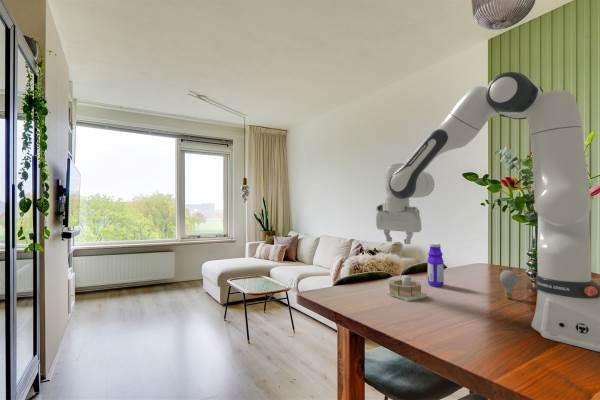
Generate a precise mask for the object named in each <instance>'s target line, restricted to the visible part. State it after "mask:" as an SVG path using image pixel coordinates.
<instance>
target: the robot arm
mask: <svg viewBox="0 0 600 400" xmlns="http://www.w3.org/2000/svg"><path fill="white" fill-rule="evenodd" d="M576 100H577V99H576V98H575V95H574V94H573V93H571V91H567V90H563V89H557V90H556V89H555V90H550V91H544V90H543V89H542V88H541V87H540V86H539V85H538V84H537V82H535V80H533V79H531V78H530V77H528V76H527V75H524V74H523V73H521V72H516V71H507V72H502V73H500V74H498V75H496V76H495V77H494V78H493V79H491V80H490V82H489V83H488V84H487V87H486V86H482V85H481V86H474V87H471V88H470V89H469V90H468V91H466V93H464V94H463V96H462V97H461V98H460V99H458V101H457V102H456V104H455V105H454V106H453V107H452V109H451V110H450V111H449V112H448V114H447V115H446V116H445V118H444V119H443V121H442V122H441V123H440V124H439V125H438V126H437V127H436V129H435V130H433V131H432V132H431V133H430V134H429V135H428V136H427V137H426V138H425V139H424V141H423V142H422V143H421V144H420V145H419V146H418V148H417V149H416V150H415V151H414V153H412V155H411V156H410V157H409V158H408V159H407V160H406V161H405V163H396V164H392V165H389V166H387V168H386V170H385V174H384V175H385V176H384V189H385V198H384V199H385V201H384V202H382V203H381V204H378V205H377V206H376V207H375V208H376V209H375V211H376V215H375V227H376V228H377V230H379V231H381V230H382V231H383V233H384V236H385V242H387V243H388V242H389V243H392V242H393V237H392V236H391V234H390V233H391V231H393V232H405V235H406V238H404V240H403V241H404V243H403V244H405V245H411V243H412V241H411V239H412V238H413V236H414V233H420V232H421V231H422V219H421V215H420V214H421V213H420V209H418V208H417V207H416V206H410V198H411V199H412V198H414V199H415V198H425V197H427V196H430V195H431V194H432V192H433V191H434V188H435V180H434V177H433V176H432V175H431V174H430V173H429V172H426V170H427V168H428V167H429V166H430V164H431V163H432V162H433V161H434V160H435V159H436V158H437V157H439V156H440V155H442V154H444V153H446V152H448V151H453V150H457V149H460V148H463V147H466V146H467V145H468V144H469V143H470V142H472V141H473V139H475V138H476V137H477V135H478V134H479V133H480V131H481V130H482V129H483V128H484V126H485V125H486V124H487V122H488V121H489V120H490V119H492V118H493V117H494V116H498V115H499V116H500V117H504V118H507V119H513V120H527V122H528V125H529V126H528V127H529V140H530V149H531V157H532V158H531V160H532V176H533V177H532V179H533V181H532V182H533V196H534V197H533V199H534V208H535V211H536V214H537V241H536V242H537V243H536V245H537V246H536V250H537V251H536V253H537V254H536V256H537V274H536V275H535V293H536V295H537V296H536V304H535V310H534V316H533V319H532V321H531V323H530V324H531V325H530V326H531V328H532V329H534V330H535V331H537V332H538V333H540V335H541V336H542V337H543V338H544V339H548V340H550V341H555V342H559V343H563V344H567V345H570V346H575V347H579V348H582V349H586V350H587V349H588V350H591V351H595V352H598V353H600V284H598V283H597V282H595V281H594V280H592V257H591V255H592V251H591V235H590V234H591V233H590V212H591V209H592V198H591V192H590V183H589V175H588V168H587V162H586V161H587V160H586V153H585V143H584V135H583V122H582V117H581V112H580V109H579V106H578V103H577V101H576Z"/></svg>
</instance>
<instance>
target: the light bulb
mask: <svg viewBox="0 0 600 400" xmlns="http://www.w3.org/2000/svg"><path fill="white" fill-rule="evenodd" d="M518 280H519V278H518V275H517V274H516V273H515V272H514V271H512V270H510V269H509V270H502V272H501V273H500V275H499V281H500V283H501V284H502V285H503V288H504V292H505V298H506V299H508V300H510V299H513V290H514V288H515V287H516V285H517V284H518Z"/></svg>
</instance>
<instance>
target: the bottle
mask: <svg viewBox="0 0 600 400" xmlns="http://www.w3.org/2000/svg"><path fill="white" fill-rule="evenodd" d="M427 254H428V256H427V257H428V258H427V260H426V262H427V282H428V285H430V286H431V287H437V288H438V287H439V288H441V287H443V286H444V284H445V283H444V282H445V280H444V279H445V277H444V276H445V275H444V263H445V262H444V258H443V255H444V254H443V252H442V249H441V243H439V242H430V243H429V251H428V252H427Z"/></svg>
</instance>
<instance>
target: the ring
mask: <svg viewBox="0 0 600 400" xmlns="http://www.w3.org/2000/svg"><path fill="white" fill-rule="evenodd" d="M388 287H389V291H390V293H391V294H394V295H397V296H405V297H411V296H412V297H414V296H419V295H421V293H422V285H421V282H419V281H415V280H412V279H411V286H403V285H402V279H393V280H389V286H388Z"/></svg>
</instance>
